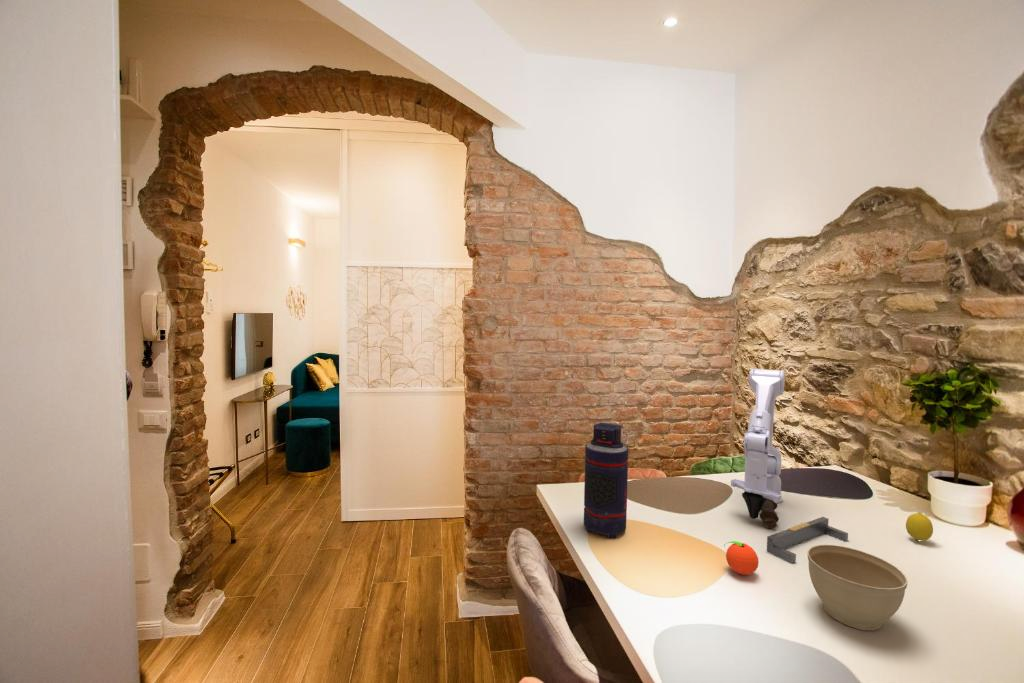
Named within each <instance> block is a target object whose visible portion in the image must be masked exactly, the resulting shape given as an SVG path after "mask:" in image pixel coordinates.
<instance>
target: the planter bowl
mask: <svg viewBox="0 0 1024 683" xmlns="http://www.w3.org/2000/svg"><path fill="white" fill-rule="evenodd" d="M807 561H808V572H809V576H810V580H811V584H812V586H813V588H814V590H815V593H816V594H817V596H818V598H819V599H820V600H821V602H822V606H823V609H824V610H825V612H826V613H827V614H828V616H830V617H832V618H833V619H834V620H836V621H838V622H840V623H842V624H844V625H845V626H848V627H850V628H851V627H852V628H854V629H859V630H862V631H876V630H879V629H880V628H881V627H882V624H883V623H884V622H885V621H888V620H889V619H890V618H891V617H892V616H893V615H895V614H896V613H897V612H898V610H899V609H900V607H901V606H902V604H903V601H904V598H905V592H906V589H907V587H908V578H907V576H906V574H904V573H903V571H902V570H900V568H898V567H896V565H893V564H892V563H890V562H888V561H887V560H884V559H883V558H881V557H879V556H876V555H873V554H872V553H871V554H870V553H869V552H865V551H862V550H859V549H856V548H852V547H848V546H844V545H835V544H817V545H814V546H811V547H810V548H808V549H807Z"/></svg>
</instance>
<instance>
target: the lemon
mask: <svg viewBox="0 0 1024 683" xmlns="http://www.w3.org/2000/svg"><path fill="white" fill-rule="evenodd" d="M905 529H906V532H907V534H908V535H909V536H910V537H912V538H913V539H915V540H916V539H917V540H922V541H928V540H929V539H930V538H931V537H932V536H933V533H934V528H933V523H932V521H931V519H929V517H927V516H926V515H924V514H923V513H921V512H917V513H913V514H910V515H909V516H908V517H907V519H906V522H905ZM917 540H916V541H917Z"/></svg>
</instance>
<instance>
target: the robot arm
mask: <svg viewBox="0 0 1024 683" xmlns="http://www.w3.org/2000/svg"><path fill="white" fill-rule="evenodd" d="M748 378H749V379H748V384H749V386H750V389H751V391H752V393H754V394H755V408H754V410H753V411H751V412H750V415H749V421H748V425H747V426H748V427H747V432H745V434H744V438H743V447H744V457H745V459H744V480H739V479H736V478H733V479H731V480H730V486H731V487H733V488H737V489H741V490H743V491H744V492H742V493H741V496H742V497H741V498H743V500H744V502H745V504H746V507H747V510H748V515H749V518H751V519H752V520H756V519H758V518H759V517H760V515H759V514H760V513H761V508H762V506H763V504H764V503H765V501H766V500H767V499H770V500H773V501H774V502H775V503H777V504H778V503H781V502H784V499H782V494H781V493H782V480H781V477H780V475H781V473H782V472H781V471H782V453H781V451H780V450H779V449H777V447H776V446H774V445H773V437H774V420H775V419H774V417H775V402H776V401H777V400H776V399H777V397H778V396H782V395H784V393H785V382H786V380H785V379H786V373H785V371H784V370H782V369H781V370H776V369H761V368H760V369H759V368H755V367H754V368H751V369H750V371H749V375H748Z"/></svg>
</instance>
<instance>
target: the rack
mask: <svg viewBox="0 0 1024 683" xmlns="http://www.w3.org/2000/svg"><path fill="white" fill-rule="evenodd" d="M823 535H828V536H830V537H832V538H834V539H837V538H838V539H837V540H840V541H842V540H843V541H842V542H847V541H848V539H849V533H848V532H846V531H843V530H841V529H838V528H835V527H833V526H830V525H829V518H828V517H825V516H821V517H818V518H815V519H813V520H810V521H807V522H803V523H800V524H797V525H794V526H791V527H788V528H787V529H785V530H782V531H779V532H777V533H773V534H771V535H770V534H769V535H768V536H766V537H767V538H766V552H767V553H769V554H771V555H773V556H775V557H777V558H779V559H781V560H783V561H786V562H787V563H790V564H795V563H796V561H797V560H796V559H797V554H796V553H794V552H792V551H789V550H788V549H790V548H793V547H794V546H797V545H799V544H802V543H804V542H807V541H809V540H812V539H815V538H817V537H820V536H823ZM846 540H847V541H846Z"/></svg>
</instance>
